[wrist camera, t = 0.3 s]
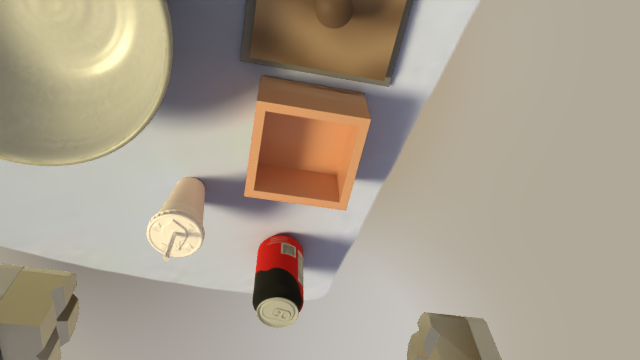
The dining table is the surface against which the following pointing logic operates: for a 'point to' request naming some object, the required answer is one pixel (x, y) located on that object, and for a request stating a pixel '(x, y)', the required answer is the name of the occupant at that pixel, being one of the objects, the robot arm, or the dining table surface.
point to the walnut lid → (328, 34)
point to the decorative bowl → (79, 76)
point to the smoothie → (179, 220)
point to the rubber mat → (246, 58)
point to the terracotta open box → (306, 143)
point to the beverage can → (278, 281)
